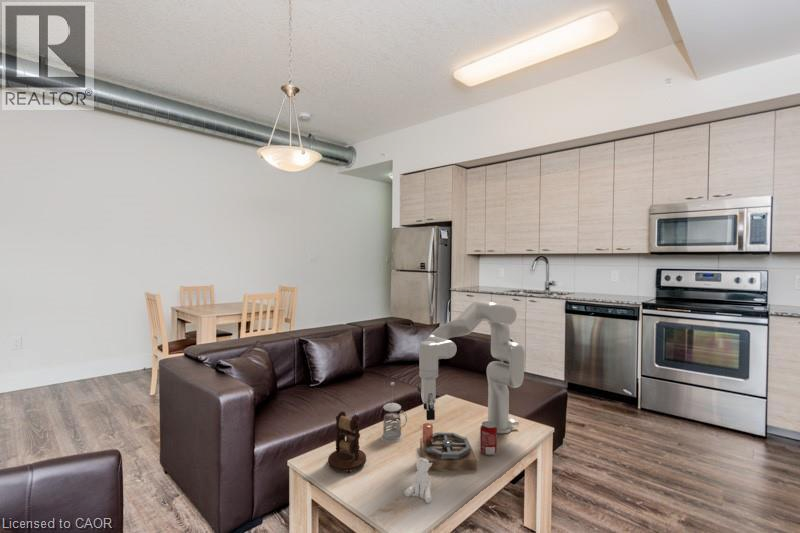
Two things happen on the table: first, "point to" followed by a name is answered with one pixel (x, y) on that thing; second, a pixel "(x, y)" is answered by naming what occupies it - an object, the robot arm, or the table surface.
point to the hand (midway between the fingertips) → (429, 414)
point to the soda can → (488, 438)
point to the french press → (395, 430)
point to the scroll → (347, 445)
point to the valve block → (449, 463)
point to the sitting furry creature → (421, 481)
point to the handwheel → (444, 443)
